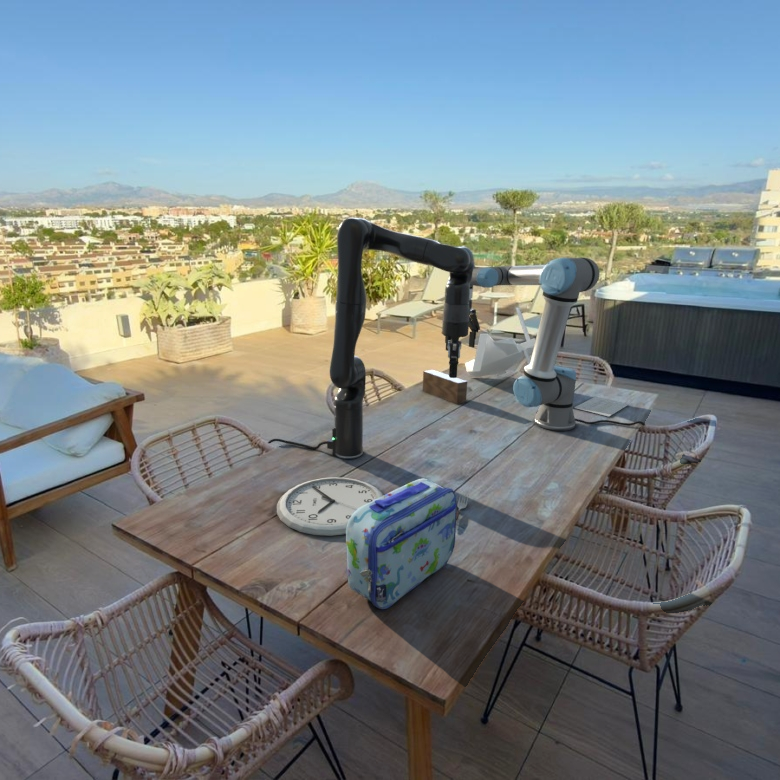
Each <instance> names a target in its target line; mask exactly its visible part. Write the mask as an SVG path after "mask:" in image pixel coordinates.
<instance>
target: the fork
mask: <svg viewBox="0 0 780 780" xmlns="http://www.w3.org/2000/svg"><path fill="white" fill-rule="evenodd" d="M461 496H462V497H461ZM469 496H470V494H467V495H465V496H464V494H460V495H459V498H458V501H457V503H456V508H458V510H456V521H457V520H458V519H459V517H460V513H461V510H463V509H465V508H467V506H468V502H469V501H468V500H469ZM466 497H467V498H466Z"/></svg>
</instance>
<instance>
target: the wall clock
mask: <svg viewBox="0 0 780 780" xmlns="http://www.w3.org/2000/svg"><path fill="white" fill-rule="evenodd" d="M384 495H385V494H384V493H383V492H382V491H381V490H380V489H379V488H377V487H376V486H374V485H372V484H371V483H369V482H365V481H362V480H359V479H355V478H349V477H338V476H337V477H335V476H333V477H332V476H331V477H322V478H317V479H312V480H307V481H305V482H302V483H299V484H297V485H295V486H293V487H292V488H290V489H288V490H287V491H286V492H285V493H284V494H283V495H281V496H280V498H279V499H278V502H277V503H276V515H277V517H278V518H279V520H280V521H281V522H282V523H283V524H285V525H286V526H287V527H288V528H290V529H293V530H295V531H297V532H299V533H303V534H308V535H312V536H327V537H328V536H329V537H331V536H332V537H333V536H342V535H346V528H347V524H348V521H349V519H350V517H351V515H352V514H353V513H354V512H355V511H356V510H357V509H358V508H360V507H362V506H364V505H366V504H368V503H370V502H372V501H374V500H376V499H378V498H380V497H382V496H384Z"/></svg>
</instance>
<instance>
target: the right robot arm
mask: <svg viewBox="0 0 780 780" xmlns="http://www.w3.org/2000/svg"><path fill="white" fill-rule="evenodd" d="M475 265H476V264H474V267H473V273H472V279H471V283H470V299H469V310H470V314H469V329H470V331H469V334H468V347H470V348H475V346H476V345H475V344H476V339H477V333H479V331H480V330H481V326H480V323H479V319H478V316H477V310H476V309H474V308H472V307H473V300H472V299H473V297H474V296H473V295H474V286H475V287H480V288H484V289H486V288H489V289H490V288H491V289H492V288H493V287H497V286H540V289H541V290H542V294H541V295H542V297H543V299H544V301H545V302H544V305H543V309H542V314H541V318H540V322H539V325H538V330H537V334H536V337H535V339H536V341H535V345H534V349H533V353H531V356H530V358H531V361H530V364H528V363H527V365H525V366H524V368H523V372H522V375H521V376H519V377H518V378H516V379H515V381H514V382H513V385H512V386H513V387H512V389H513V394H514V396H515V399H516V400H517V402H518V403H519V404H520V405H521V406H523V407H526V408H536V407H537V408H538V410H537V411H536V413H535V416H534V424H535V425H536V426H537V427H539V428H542V429H544V430H549V431H556V432H567V431H572V430H574V429H575V428H576V422H579V423H582V424H586V425H596V424H601V423H610V424H615V425H619V426H629V427H630V426H634V425H638V424H640V425H642V426H646V423H644V422H643V421H640V420H638V421H634V422H621V421H615V420H609V419H600V420H594V421H587V420H582V419H579V418H575V417H576V416H575V413H574V407H573V405H574V398H575V390H576V383H577V372H576V371H575V369H572V368H571V367H570V368H569V367H566V366H561V365H556V362H557V358H558V356H559V351H560V349H561V348H560V347H561V344H562V341H563V337H564V334H565V330H566V326H567V323H568V319H569V315H570V311H571V307H573V305H574V304H577V303H578V299H579V296H580V293H584V292H585V293H586V292H587V291H590V290H591V289H593V288H594V287H595V286H596V285H597V283H598V282H599V279H600V275H601V273H600V268H599V266H598V264H597V263H596V262H595V261H594V260H593V259H591V258H588V257H559V258H554V259H552V260H550V261H548V262H547V263H546V264H533V265H532V264H531V265H504V266H503V265H502V266H475ZM448 341H451V337H447V336H444V343H445V351H447V352H448Z"/></svg>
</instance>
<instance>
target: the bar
mask: <svg viewBox="0 0 780 780" xmlns="http://www.w3.org/2000/svg"><path fill="white" fill-rule="evenodd" d="M467 389H468V380H465V379H461V378H459V377H456V378H450V377H449V374H448V373H444V372H441V371H438V370H435V369H429V370H428V369H427V370H423V373H422V392H425V393H427V394H430V395H432V396H434V397H438V398H440V399H442V400H445V401H448V402H450V403H453V404H455V405H460V404H463V403H467V394H468V393H467V392H468V390H467Z"/></svg>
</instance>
